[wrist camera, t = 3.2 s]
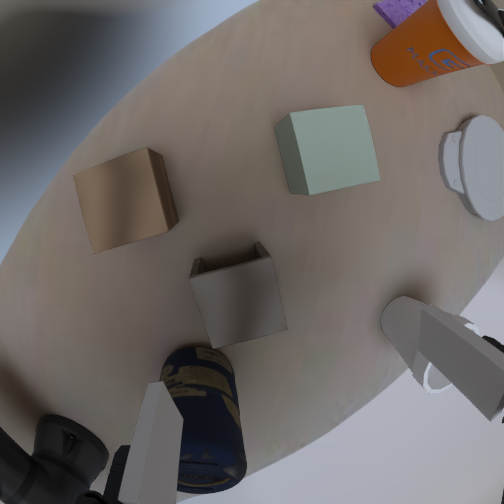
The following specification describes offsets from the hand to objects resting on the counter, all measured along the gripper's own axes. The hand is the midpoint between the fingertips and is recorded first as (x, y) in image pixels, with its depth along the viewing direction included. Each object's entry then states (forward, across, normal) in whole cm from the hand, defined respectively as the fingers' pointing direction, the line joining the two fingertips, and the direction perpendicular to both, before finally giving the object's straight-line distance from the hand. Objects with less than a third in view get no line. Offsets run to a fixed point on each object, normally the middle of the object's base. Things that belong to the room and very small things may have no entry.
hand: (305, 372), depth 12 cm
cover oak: (+21, +3, +2) cm, 21 cm away
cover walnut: (+21, +11, -10) cm, 25 cm away
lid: (+22, -38, -5) cm, 44 cm away
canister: (+21, +11, +13) cm, 27 cm away
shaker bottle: (+22, -24, -21) cm, 39 cm away
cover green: (+21, -9, -10) cm, 25 cm away
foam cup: (+21, -18, +14) cm, 31 cm away
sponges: (+22, -32, -31) cm, 50 cm away
